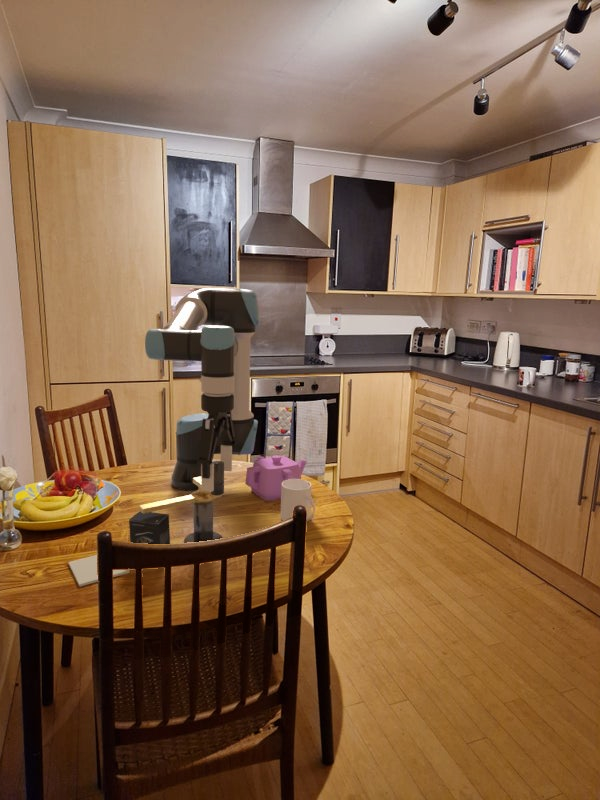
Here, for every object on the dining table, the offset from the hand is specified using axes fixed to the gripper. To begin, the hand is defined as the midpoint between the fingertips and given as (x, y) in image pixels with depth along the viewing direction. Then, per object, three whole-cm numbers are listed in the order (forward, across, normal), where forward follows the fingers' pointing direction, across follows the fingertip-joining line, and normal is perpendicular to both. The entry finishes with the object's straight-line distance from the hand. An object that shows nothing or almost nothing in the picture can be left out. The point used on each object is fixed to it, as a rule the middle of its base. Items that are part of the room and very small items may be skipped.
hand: (217, 480), depth 124 cm
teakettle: (+20, -45, +5) cm, 49 cm away
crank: (+8, +1, -8) cm, 11 cm away
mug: (+20, -25, +16) cm, 36 cm away
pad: (+20, +12, -25) cm, 34 cm away
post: (+20, -6, -6) cm, 22 cm away
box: (+20, +4, -16) cm, 26 cm away
